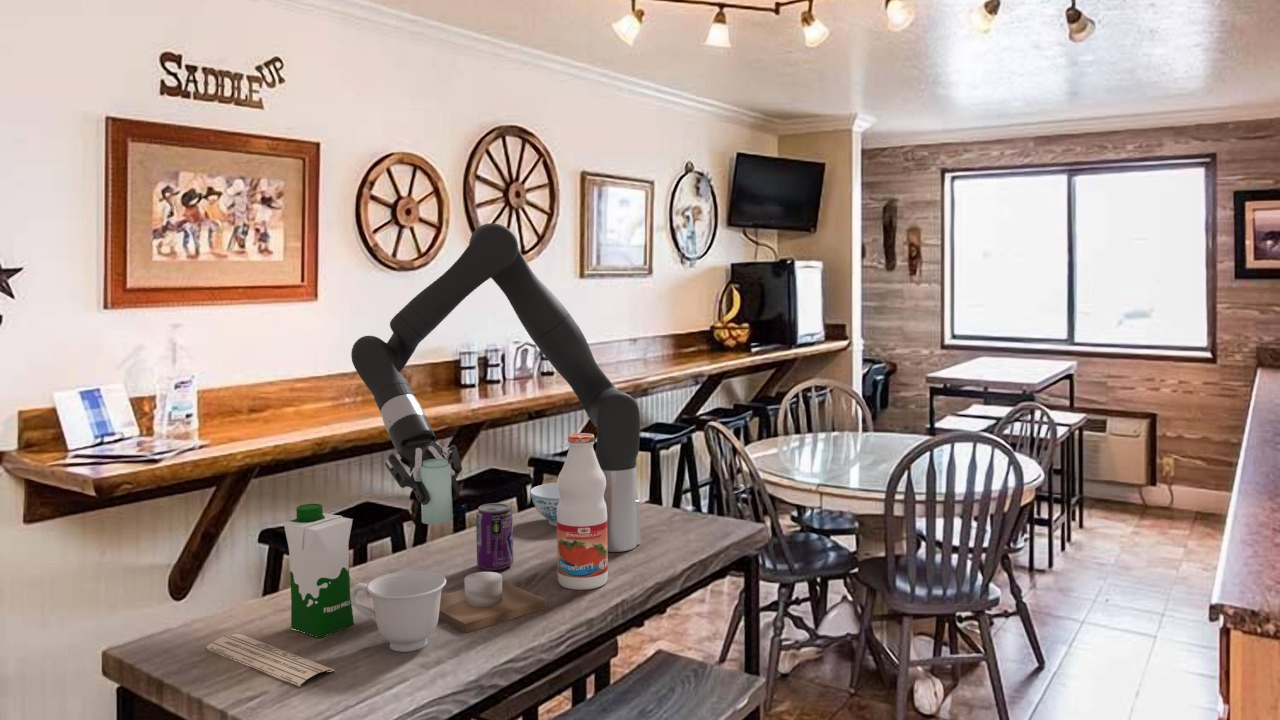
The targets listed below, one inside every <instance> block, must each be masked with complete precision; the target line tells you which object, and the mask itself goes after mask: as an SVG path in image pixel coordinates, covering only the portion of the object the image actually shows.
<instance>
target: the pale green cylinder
mask: <svg viewBox="0 0 1280 720" xmlns="http://www.w3.org/2000/svg"><path fill="white" fill-rule="evenodd" d="M420 475H421V480H420V482H423V484H424V485H425V488H426V490H427V492H428V494H429V496H430V500H429V502H428V504H427V505H422V503H421V505H420V506H421V523H422V524H424V525H425V524H426V525H433V526H434V525H443V524H448V523H450V522H452V521H453V517H454V516H453V499H452V484H451V464H449V463H448V460H446V459H445V458H444V459H429V460H425V461H423V465H422V466H420Z"/></svg>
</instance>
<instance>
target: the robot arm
mask: <svg viewBox="0 0 1280 720" xmlns="http://www.w3.org/2000/svg"><path fill="white" fill-rule="evenodd" d="M489 279H492V280H493V282H494V283H495V284H496V285H497V286H498V287H499V289H500V290H501V292H502V293H503V294H504V295H505V297H506V298H507V300H508V302H509V303H510V306H511V307H512V309H513V311H514V312H515V314H516V316H517V318H518V319H519V321H520V323H521V325H522V326H523V328H524V329H525V331H526V332H527V334H528V336H529V337H530V339H531V340H532V341H533V342H534V344H535V346H537V348H538V349H539V351H540V352H541V353H542V355H544V357H545V359H547V361H548V362H549V363H550V364H551V366H552V367H553V368H554V369H555V370H556V372H557V373H558V374H559V375H560V376H561V377H562V379H564V380H565V381H566V383H567V384H568V385H569V387H570V389H572V391H573V392H574V394H575V396H576V397H577V399H578V400H579V402H580V404H581V406H582V407H583V409H584V411H585V413H586V415H587V417H588V419H589V420H590V422H591V423H592V424H593V426H594V427H596V447H595V448H596V449H595V450H594V451H595V454H596V457H597V460H598V463H599V465H600V468H601V469H602V471H603V473H604V474H605V477H606V489H605V492H604V500H605V503H606V506H607V552H610V553H611V552H613V553H616V552H617V553H619V552H626V551H630V550H634V549H635V548H636V547H637V546H638V544H639V545H640V544H641V501H640V500H639V499H637V458H638V456H639V451H640V437H641V435H640V434H641V415H640V414H641V412H640V408H639V404H638V402H637V400H635V398H634V397H633V396H632V395H630V394H628V393H625V392H623V391H621V390H620V389H618V387H616V386H615V384H613V382H611V380H610V378H609V377H607V375H606V374H605V373H604V372H603V371H602V369H601V368H600V367H599V365H598V363H597V362H596V360H595V358H594V355H593V353H592V350H591V348H590V346H589V343H588V341H587V338H586V337H585V335H584V333H583V331H582V330H581V328H580V326H579V325H578V324H577V322H576V321H575V319H574V318H573V317H572V315H571V314H570V313H569V311H568V310H567V309H566V307H565V306H564V305H563V304H562V302H561V301H560V300H559V298H558V297H556V296H555V295H554V293H553V292H552V291H551V290H550V289H549V288H548V287H547V286H546V285H545V284H544V283H543V282H542V281H541V280H540V279H539V278H538V276H537V275H536V274H535V273H534V271H533V270H532V269H531V267H530V266H529V263H528V262H527V261H526V259H525V257H524V256H523V254H522V253H521V250H520V249H519V242H518V239H517V236H516V235H515V233H514V232H513V231H512V230H511V229H510V228H509V227H507V226H506V225H505V226H504V225H503V224H500V223H495V222H493V223H492V222H491V223H485V224H482V225H479V226H478V227H477V228H476V229H475V230H474V231H473V232H472V233H471V236H470V238H469V243H468V246H467V247H466V249H465V250H464V251H463V252H462V254H461V255H460V256H459V257H458V259H457V260H456V261H455V262H454V263H453V264H452V265H451V266H450V267H449V268H448V269H447V270H446V271H445V272H444V273H443V274H442V275H440V276H439V277H438V278H437V279H435V280H434V281H433V282H432V283H430V284H429V285H428V286H426V287H425V288H424V289H422V291H420V292H419V293H418V294H417V295H415V296H414V297H413V298H412V299H411V300H410V301H409V302H408V303H407V304H406V305H404V307H402V309H401V310H399V311H398V313H396V314H395V315H394V316H393V318H392V319H390V321H389V328H390V330H391V332H392V335H390V338H389V339H388V341H387V342H385V341H384V340H383V339H381V338H379V337H378V336H374V335H364V336H361V337H359V338H358V339H357V340H356V341H355V343H354V344H353V345H352V348H351V355H350V357H351V361H352V365H353V367H354V369H355V371H356V372H357V374H358V375H359V377H360V379H361V380H362V381H363V383H364V384H365V386H366V387H367V389H368V390H369V391H370V393H371V394H372V397H373V398H374V402H375V403H376V406H377V408H378V410H379V412H380V415H381V417H382V422H383V424H384V427H385V430H386V432H387V433H388V436H389V438H390V440H391V442H392V444H393V447H394V449H395V452H396V453H397V454H396V455H395V454H393V453H390V454H389V456H388V457H387V459H386V461H385V463H384V465H385V467H386V468H387V470H388V471H389V473H390V475H391V476H392V477H393V479H394V480H395V482H397V484H398V485H399V488H401V489H404V488H406V487H407V488H408V487H409V488H410V489H412V490H413V493H414V495H415V497H416V499H417V501H418V502H419V504H420V503H422V505H427V504H428V502H429V500H430V496H429V494H428V492H427V490H426V488H425V485H424V484H423V482H421V481H420V480H421V475H420V466H422V465H423V461H425V460H429V459H446V460H448V463H449V464H451V484H452V500H457V499H458V497H459V495H460V494H461V489H462V488H461V486H460V485H459V482H458V480H457V478H458V477H459V475H460V473H461V472H462V470H463V467H462V463H461V459H460V455H459V451H458V447H457V445H456V444H451V445H450V447H445V446H442V445H441V444H440V443H438V441H437V438H436V435H435V432H434V429H433V428H432V425H431V424H430V421H429V420H428V417H427V415H426V412H425V411H424V409H423V407H422V405H421V403H420V402H419V401H418V399H417V397H416V395H415V393H414V391H413V389H412V387H411V385H410V383H409V382H408V379H406V377H405V376H403V375H402V374H401V372H402V370H403V369H404V368H405V367H406V365H407V363H408V362H409V361H410V358H411V357H412V356H413V354H414V353H415V351H416V349H417V347H418V346H419V344H420V343H421V342H422V341H423V340H424V339H425V338H426V337H428V336H429V334H431V333H432V332H433V331H434V330H435V329H436V328H437V326H439V325H440V324H441V323H442V321H444V320H445V319H446V318H447V317H448V316H449V315H450V314H451V313H452V312H453V310H455V309H456V307H458V306H459V305H460V304H461V303H462V301H464V300H465V299H466V298H467V297H468V296H469V295H471V293H473V292H474V291H475V290H476V289H477V288H479V287H480V286H481V285H483V284H484V283H485V282H486V281H488V280H489ZM442 455H443V456H442ZM403 465H404V466H406V467H407V468H408V471H409V472H407V471H406V468H405V467H404V466H403Z"/></svg>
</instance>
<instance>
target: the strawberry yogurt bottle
mask: <svg viewBox="0 0 1280 720" xmlns="http://www.w3.org/2000/svg"><path fill="white" fill-rule="evenodd" d="M567 442H568V443H567V444H568V445H569V447H568V452H567V454H566V457H565V461H564V464H563V466H562V469H561V470H560V472H559V473H558V476H557V480H556V481H557V482H556V483H557V487H558V491H559V495H560V501H559V503H558V506H557V526H556V541H557V542H556V549H557V550H556V552H557V553H556V554H557V555H556V556H557V560H556V561H557V566H556V567H557V580H558V584H559V585H560V586H561V587H563V588H566V589H568V590H569V589H570V590H575V591H576V590H577V591H578V590H579V591H581V590H585V591H586V590H592V589H598V588H600V587H602V586H605V584H606V583H607V581H608V576H609V575H608V571H609V570H608V569H609V566H608V565H609V563H608V561H609V560H608V556H609V554H608V551H607V506H606V503H605V500H604V492H605V489H606V477H605V474H604V473H603V471H602V469H601V468H600V465H599V463H598V460H597V457H596V454H595V451H596V450H594V444H595V435H594V434H593V433H588V432H587V433H586V432H578V433H577V432H576V433H571V434H569V435H568V436H567Z"/></svg>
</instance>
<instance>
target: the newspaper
mask: <svg viewBox="0 0 1280 720" xmlns="http://www.w3.org/2000/svg"><path fill="white" fill-rule="evenodd" d="M206 648H207V649H209V650H212V651H214V652H217V653H219V654H221V655H224V656H226V657H228V658H232V659H234V660H237V661H240V662H242V663H245V664H248V665H250V666H252V667H255V668H257V669H260V670H263V671H266V672H269V673H271V674H274V675H276V676H279V677H282V678H284V679H286V680H289V681H292V682H294V683H296V684H299V685H301V684H302V685H303V684H304V683H305V682H306V681H307V680H308V679H310V678H312V677H314V676H316V675H318V674H319V673H320V674H321V673H323V672H325V671H331V670H334V671H337V670H336V669H334V668H331V667H329V666H326V665H323V664H321V663H318V662H316V661H312V660H311V659H307V658H305V657H302V656H299V655H296V654H294V653H291V652H290V651H286V650H284V649H281V648H279V647H276V646H274V645H270V644H267V643H265V642H263V641H260V640H257V639H254V638H251V637H249V636H246V635H244V634H241V633H240V634H239V633H232V634H229V635H223V636H222V637H220V638H218V639H216V640H215V639H214V640H213V641H212V642H210V643H209V644H208V645H206V646H205V649H206ZM221 655H220V656H221ZM228 658H227V659H228ZM302 685H301V686H302Z"/></svg>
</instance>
